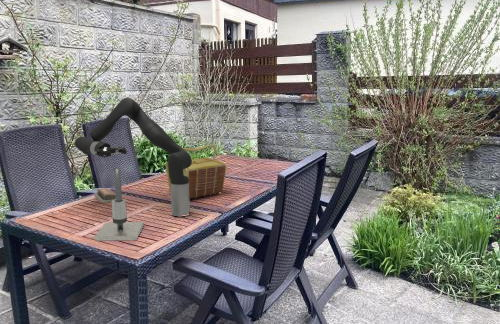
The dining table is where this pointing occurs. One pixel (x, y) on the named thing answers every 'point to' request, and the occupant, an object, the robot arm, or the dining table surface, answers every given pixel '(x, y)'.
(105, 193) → the packaged product
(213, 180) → the picnic basket
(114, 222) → the black hex nut
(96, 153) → the robot arm
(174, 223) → the dining table surface
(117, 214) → the metal sleeve
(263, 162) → the dining table surface
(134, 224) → the pipe stand
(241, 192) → the dining table surface
